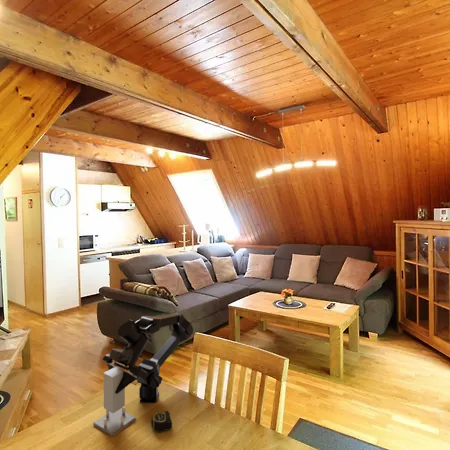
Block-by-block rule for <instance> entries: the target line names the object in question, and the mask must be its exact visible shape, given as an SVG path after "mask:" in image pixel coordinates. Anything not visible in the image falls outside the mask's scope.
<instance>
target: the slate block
mask: <svg viewBox="0 0 450 450" xmlns="http://www.w3.org/2000/svg"><path fill="white" fill-rule="evenodd" d="M123 371H124V369H122V368H120V367H119V368H117V367H114V368H112V369H110V370H109V369H108V370H106V371H105V372H103V409H104V410H105V411H106V410H108V411H109V412H111V413H115V412H116V411H118V410H119V409H121V410H122V407H126V402H125V401H126V395H125V394H126V392H125V390H126V387H125V388H124V389H123V390H122V391H120V392H119V393H118V394H116V393H115V391H116V389H117V387H118V385H119V383H120V381H121V380H122V378H123Z"/></svg>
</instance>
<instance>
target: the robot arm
mask: <svg viewBox="0 0 450 450" xmlns="http://www.w3.org/2000/svg"><path fill="white" fill-rule="evenodd" d="M169 326H171V327H172V328H171V329H172V330H171V335H170V336H169V337H168V339H167V340H166V341H165V343H163V345H162V346H161V347H160V349H158V351H157V352H156V353H155V354H154V355H153V356H152V357H151V358H150V359H147V358H144V359H143V360H142V361H141V362H140V364H138V365H136V363H137V362H138V361H139V359H142V358H143V355H142V353H143V351H144V350H145V347H146V346H147V345H148V343H150V344H151V343H152V335H153V334H155V333H157V332H159V331H160V329H162V328H164V327H165V328H166V327H169ZM117 330H118V331H117V335H118V336H119V337H120V338H121V339H123V340H124V341H125V342H126V343H128V345H127V346H126V345H125V346H124V347H122V349H121V348H111V350H110V353H107V354H105V355H104V356H103V358H102V361H103V362H105V363H106V366H107V368H108V370H110V369H112V368H114V367H117V368H119V369H121V370H123V378H122V380H121V381H120V383H119V385H118V387H117V389H116V391H115V393H116V394H118V393H119V392H120V391H122V390H123V389H124V388H125V389H126V388H127V387H128V386H129V385H131V384H133V383H134V381H137V383H138V384H140V386H139V391H138V392H139V393H138V396H139V403H142V404H143V403H145V404H146V403H148V404H150V403H151V404H152V403H153V404H154V403H157V401H158V397H159V395H160V392H159V387H160V385H161V384H162V383H163V377H162V376H160V372H161V367H162V366H163V364H165V362H166V361H167V360H168V359H169V357H170V356H171V355H172V353H173V352H174V351H175V349H177V347H179V345H180V344H181V343H182V342H185V341H187V340H188V339H190V337H191V336H192V335H193V333H194V327H193V325H192V324H191V323H190V321H188V320H187V318H186V317H185V316H184V315H183V314H182V313H179V312H172V313H170V314H165V315H159V316H152V315H151V316H150V315H142V316H141V317H140V318H139V319H138V320H136V321H134V320H132V319H127V322H124V323H123V324H121V325H120V326H119V328H118V329H117ZM146 333H147V334H146ZM150 334H152V335H150Z"/></svg>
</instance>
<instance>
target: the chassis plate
mask: <svg viewBox="0 0 450 450" xmlns="http://www.w3.org/2000/svg"><path fill="white" fill-rule="evenodd" d="M134 421H136V417H135V416H134V415H132V414H130V413H128V412H126V406H124V407H122V408H121V409H119V410H118V411H116V412H115V413H111V412H110V411H108V410H106V409H105V414H104V415H102V416H101V417H100V418H98V419H96V420H94V422H93V426H94V427H95V428H98V429H99V430H101V431H103V432H104V433H105V434H107V435H109V436H110V437H114V436H116V435H117V434H118V433H119V432H121V431H122V430H124V429H125V428H126V427H128V426H129V425H131V424H132V423H133V422H134Z"/></svg>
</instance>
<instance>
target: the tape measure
mask: <svg viewBox="0 0 450 450" xmlns="http://www.w3.org/2000/svg"><path fill="white" fill-rule="evenodd" d="M151 427H152V429H153V430H154V431H156V432H165V431H167V430H171V429H172V428H173V421H172V419H171V412H170V411H168V410H166V411H158V412H156V413H155V414H153V416H152V417H151Z"/></svg>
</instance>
